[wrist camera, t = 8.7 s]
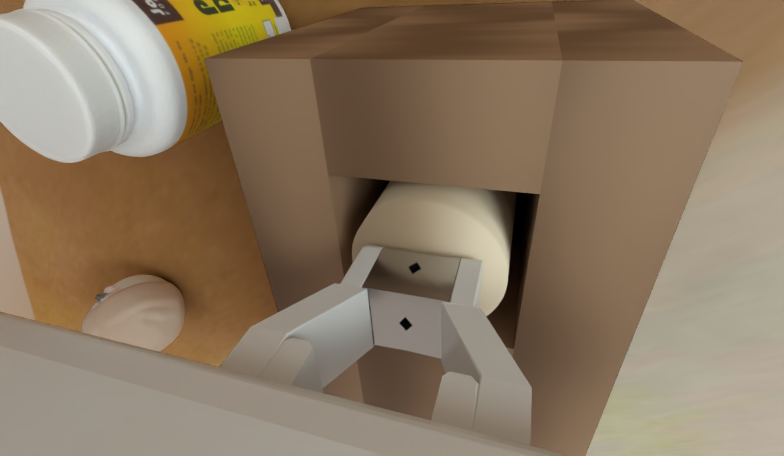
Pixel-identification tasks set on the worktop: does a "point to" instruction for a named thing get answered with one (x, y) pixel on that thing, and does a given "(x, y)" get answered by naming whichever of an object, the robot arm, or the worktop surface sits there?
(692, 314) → the worktop surface
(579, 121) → the block
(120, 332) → the garlic bulb
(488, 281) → the peg
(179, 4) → the supplement bottle
